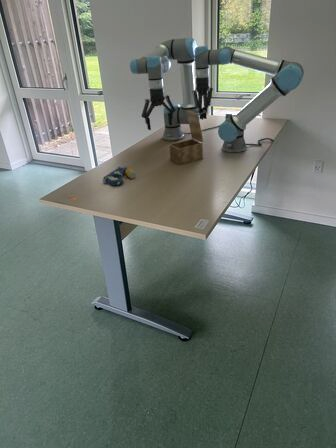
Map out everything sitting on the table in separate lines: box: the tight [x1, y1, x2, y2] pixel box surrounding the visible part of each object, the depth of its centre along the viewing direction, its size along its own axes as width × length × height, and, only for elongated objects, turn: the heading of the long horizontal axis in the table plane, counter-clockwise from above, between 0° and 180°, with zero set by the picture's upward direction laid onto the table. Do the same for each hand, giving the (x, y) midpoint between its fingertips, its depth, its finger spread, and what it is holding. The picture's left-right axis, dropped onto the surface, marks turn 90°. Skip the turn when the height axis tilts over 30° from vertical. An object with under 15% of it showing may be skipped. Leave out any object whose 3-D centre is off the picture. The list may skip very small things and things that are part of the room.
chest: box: [168, 138, 204, 166], centre depth 207 cm, size 17×11×10 cm
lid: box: [186, 110, 208, 143], centre depth 203 cm, size 18×11×9 cm
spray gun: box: [102, 165, 136, 187], centre depth 189 cm, size 21×4×15 cm
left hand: (160, 127), depth 192 cm, fingers open, 13 cm apart
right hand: (203, 118), depth 202 cm, fingers closed on lid, 2 cm apart
